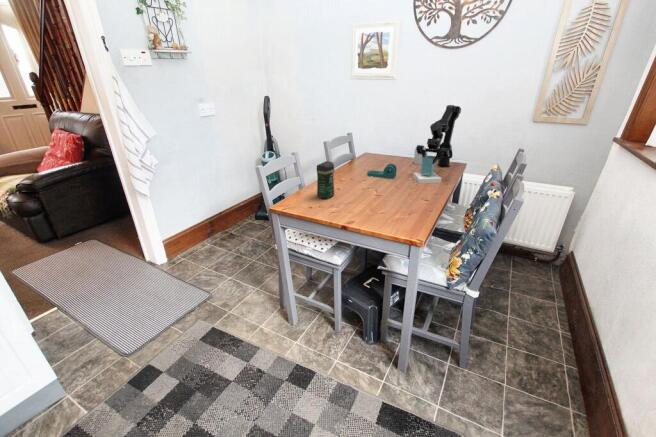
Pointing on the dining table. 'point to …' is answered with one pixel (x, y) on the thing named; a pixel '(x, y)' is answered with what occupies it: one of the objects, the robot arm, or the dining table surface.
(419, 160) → the small box
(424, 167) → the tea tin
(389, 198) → the dining table surface
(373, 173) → the bracket
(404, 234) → the dining table surface
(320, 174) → the coffee jar
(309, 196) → the dining table surface
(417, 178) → the riser block
